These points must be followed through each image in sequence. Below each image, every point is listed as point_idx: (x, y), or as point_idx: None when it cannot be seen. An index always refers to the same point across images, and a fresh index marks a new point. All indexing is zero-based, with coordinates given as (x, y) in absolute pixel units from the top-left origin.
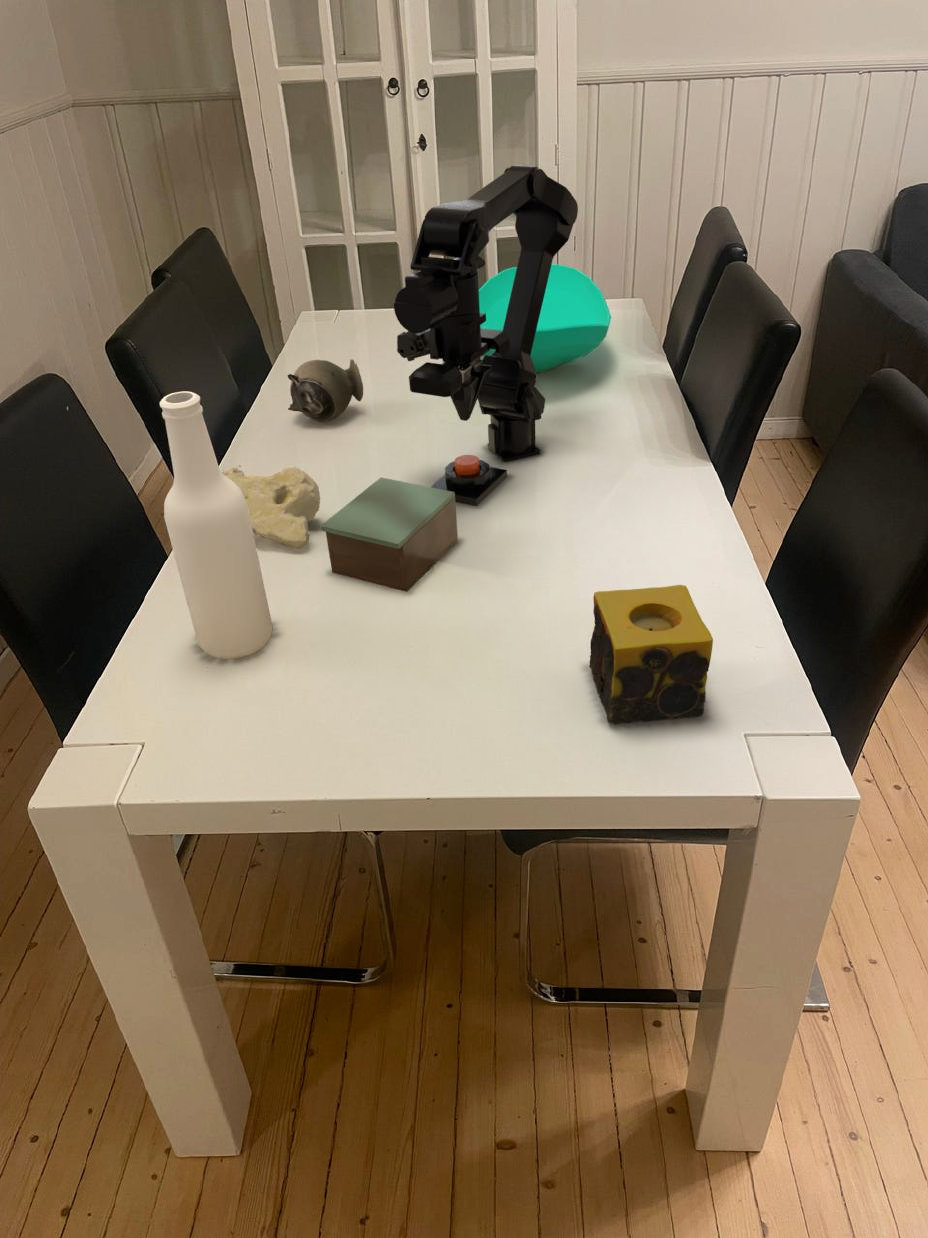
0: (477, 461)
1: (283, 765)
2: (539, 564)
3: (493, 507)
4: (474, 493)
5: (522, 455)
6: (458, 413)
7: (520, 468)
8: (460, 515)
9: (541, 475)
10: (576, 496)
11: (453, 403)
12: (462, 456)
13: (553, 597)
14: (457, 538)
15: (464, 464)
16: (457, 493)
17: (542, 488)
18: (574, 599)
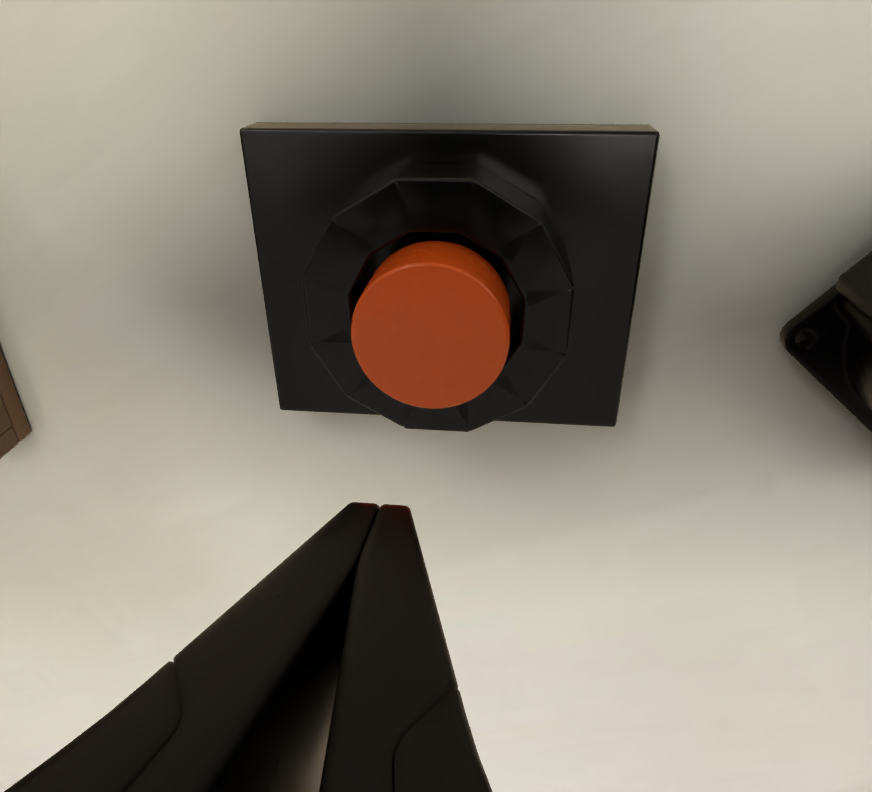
0: (435, 406)
1: None
2: (100, 665)
3: (322, 450)
4: (322, 382)
5: (849, 410)
6: (310, 546)
7: (721, 427)
8: (194, 358)
9: (668, 525)
10: (529, 661)
11: (214, 622)
12: (463, 295)
13: (5, 717)
14: (19, 440)
15: (365, 354)
16: (283, 308)
17: (550, 558)
18: (33, 749)
